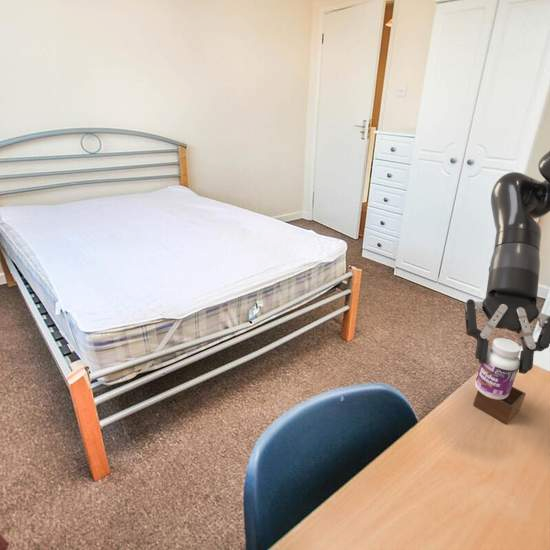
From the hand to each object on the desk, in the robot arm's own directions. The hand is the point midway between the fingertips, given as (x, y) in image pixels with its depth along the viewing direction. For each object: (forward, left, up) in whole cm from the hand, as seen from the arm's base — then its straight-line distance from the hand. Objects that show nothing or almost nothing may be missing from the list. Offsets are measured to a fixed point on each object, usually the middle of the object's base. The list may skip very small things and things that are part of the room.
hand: (502, 367), depth 62 cm
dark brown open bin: (-9, -14, -20) cm, 26 cm away
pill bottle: (0, -2, -6) cm, 7 cm away
